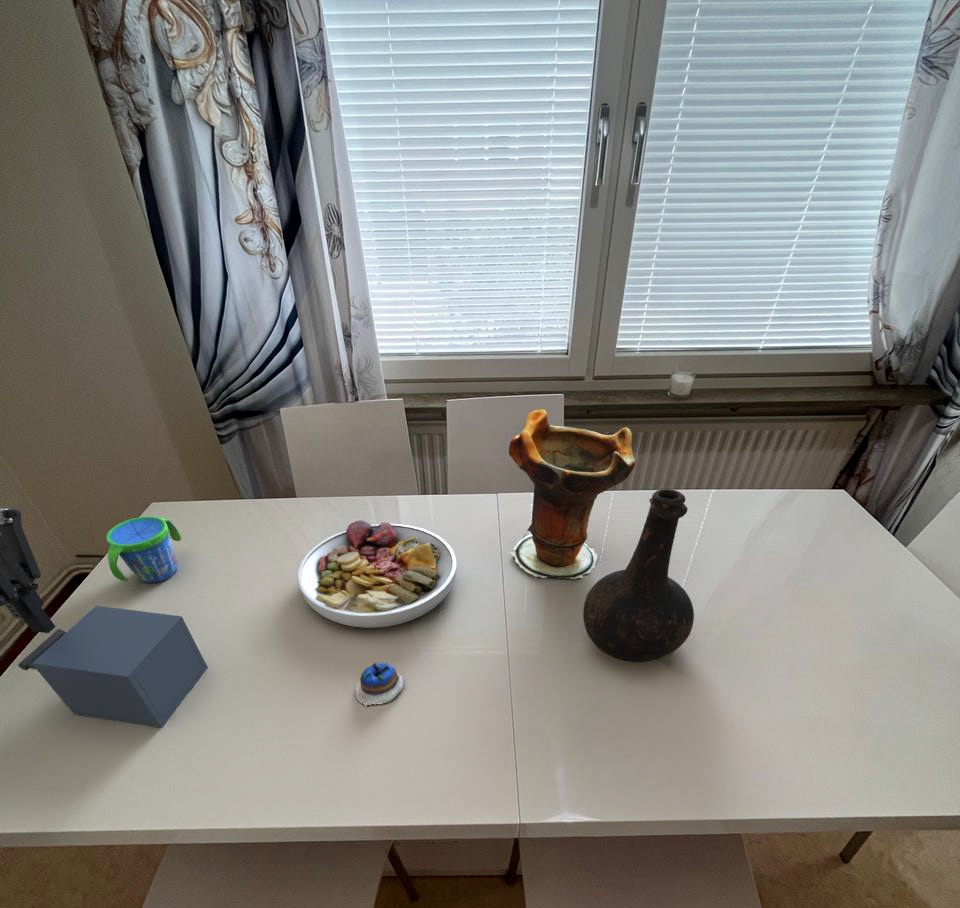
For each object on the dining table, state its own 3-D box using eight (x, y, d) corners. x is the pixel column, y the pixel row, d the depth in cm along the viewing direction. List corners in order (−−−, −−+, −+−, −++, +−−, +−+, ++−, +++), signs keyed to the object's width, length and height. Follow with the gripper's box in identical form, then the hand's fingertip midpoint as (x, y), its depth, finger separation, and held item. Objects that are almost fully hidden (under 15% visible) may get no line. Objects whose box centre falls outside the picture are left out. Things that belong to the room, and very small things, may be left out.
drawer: (31, 701, 82) (-7, 658, 76) (84, 649, 91) (54, 607, 84) (147, 718, 80) (117, 676, 73) (190, 664, 88) (167, 621, 82)
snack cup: (145, 602, 101) (120, 557, 94) (106, 588, 105) (80, 544, 98) (206, 559, 112) (188, 516, 105) (170, 548, 115) (150, 505, 108)
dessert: (390, 659, 89) (393, 652, 83) (408, 694, 88) (412, 689, 83) (345, 679, 86) (346, 673, 81) (363, 716, 86) (364, 712, 80)
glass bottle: (582, 676, 87) (610, 527, 68) (575, 607, 100) (597, 465, 81) (692, 682, 86) (752, 532, 67) (671, 611, 99) (717, 468, 80)
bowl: (483, 606, 100) (483, 572, 95) (327, 657, 90) (317, 623, 85) (422, 530, 120) (419, 499, 114) (287, 566, 110) (277, 533, 104)
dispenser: (74, 714, 82) (31, 663, 74) (128, 656, 91) (95, 605, 83) (161, 728, 80) (127, 676, 72) (208, 667, 89) (182, 616, 81)
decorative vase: (618, 591, 104) (649, 451, 84) (500, 583, 106) (504, 445, 86) (611, 533, 119) (636, 404, 100) (508, 527, 121) (513, 399, 101)
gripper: (-96, 510, 57) (31, 663, 74) (3, 458, 67) (97, 604, 83) (-153, 504, 58) (-15, 656, 75) (-48, 454, 68) (55, 599, 84)
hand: (44, 628), depth 79 cm, fingers closed
